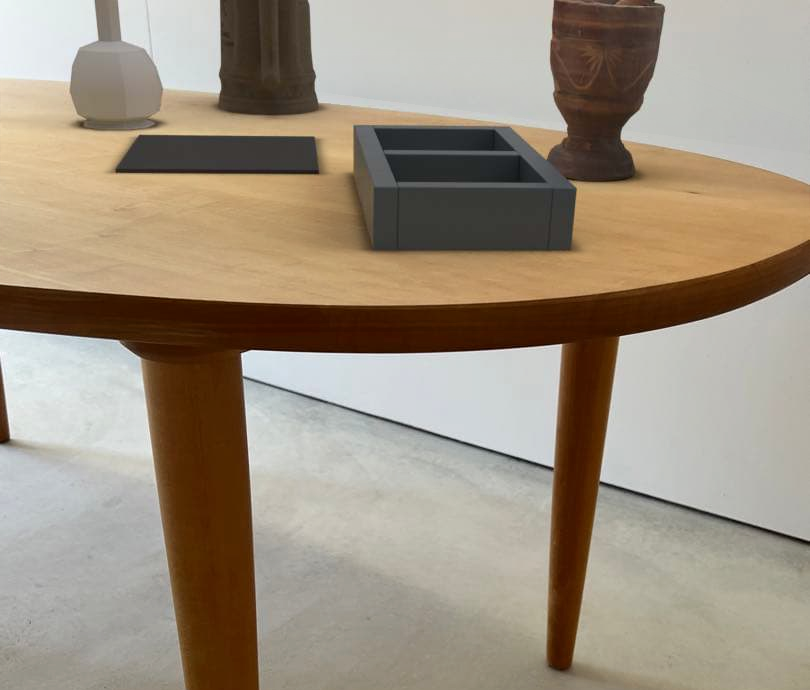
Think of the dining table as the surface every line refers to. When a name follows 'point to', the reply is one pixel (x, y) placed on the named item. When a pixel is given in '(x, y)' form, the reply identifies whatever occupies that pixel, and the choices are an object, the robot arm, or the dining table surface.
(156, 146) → the mat
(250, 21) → the beer stein
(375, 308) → the dining table surface
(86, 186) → the dining table surface
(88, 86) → the potion bottle
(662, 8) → the mortar and pestle
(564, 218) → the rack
